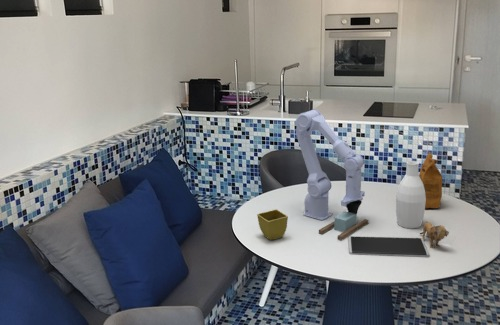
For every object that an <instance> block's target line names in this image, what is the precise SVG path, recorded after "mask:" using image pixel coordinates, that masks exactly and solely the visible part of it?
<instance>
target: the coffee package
mask: <svg viewBox="0 0 500 325" xmlns="http://www.w3.org/2000/svg"><path fill="white" fill-rule="evenodd" d="M436 164H438V160H437V159H434V158H433V154H432V153H430V152H428V153H427V155H426V158H425V159H424V162H423V163H422V165H421V167H420V171H419V173H418V175H419V177H420V179H421V181H422V182H423V185H424V189H425V196H426V203H425V209H439V208H441V202H442V196H443V175H442V174H441V172H440V170H439V169H438V167H437V165H436Z"/></svg>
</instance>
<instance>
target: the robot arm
mask: <svg viewBox="0 0 500 325" xmlns="http://www.w3.org/2000/svg"><path fill="white" fill-rule="evenodd" d="M294 123H295V124H296V128H295V130H296V131H295V136H296V139H297V141H298V144H299V145H298V146H299V148H300V152H301V154H302V157H303V160H304V164H305V166H306V170H307V172H308V173H307V174H308V177H307V179H306V182H307V192H308V193H307V194H306V195H305V199H304V213H303V215H304V216H306V217H309V218H312V219H316V220H319V221H324V220H326V219H327V218H329V217H331V216H333V213H332V212H329V191H331V189H332V182H331V180H330V179H329V177H328V176H327V173H326V172H324V171H323V170H322V167H321V164H320V161H319V159H318V154H317V152H316V149H315V146H314V142H313V140H312V135H311V134H312V133H313V131H318V132H319V133H320V134H321V135H322V136H323V137H324V138H325V139H326V140H327V141H328V142H329V143H330V144H331V145H332V151H333V152H334V153H335V155H336V156H337V157H338V158H339V159H340V160H341V161H342V163H343V168H344V170H345V171H346V173H345V195H344V197H343V198H342V200H340V206H342V207H346V209H347V212H350V213H354V214H356V216H358V215H357V214H358V211H359V209H360V206H361V204H362V203H363V200H364V197H365V195H366V194H365V191H364V190H362V187H361V186H362V167H363V166H364V164H365V160H364V157H363V156H362V155H361V154H359V153H356V151H354V150H353V149H352V148H351V146H350V145H349V142H348V141H345V140H343V139H340V138H339V136H337V135H336V133H335V132H334V131H333V129H332V128H331V126H330V125H329V124H328V123H327V122H326V119H325V116H324V115H323V114H322V113H321V111H320V110H319V109H311V110H308V111H304V112H301V113H299V114H298V115H297V117H296V119H295V122H294Z"/></svg>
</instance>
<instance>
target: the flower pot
mask: <svg viewBox="0 0 500 325" xmlns="http://www.w3.org/2000/svg"><path fill="white" fill-rule="evenodd" d="M256 215H257V222H258V225H259V229H260V231H261V232H262V235H263V236H264V237H266V238H267V239H268V240H270V241H273V240H277V239H281V238H282V237H283V236H284V235H285V233H286V231H287V227H288V218H289V216H288V215H287V214H285V213H283V212H282V211H280V210H278V209H272V210H268V211H264V212H260V213H256Z"/></svg>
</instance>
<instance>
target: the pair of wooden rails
mask: <svg viewBox="0 0 500 325" xmlns="http://www.w3.org/2000/svg"><path fill="white" fill-rule="evenodd" d="M368 224H369V219H366V218H364V219H363V220H360V221H359V222H357V223H356V225H354V226H353V227H351V228H350V229H348V230H346V231H345V232H341V233H340V234H338V235H337V240H338V241H342V240H344V239H346V238H348V237H350V236H351V235H352V234H355V233H356V232H357V231H359V230H360V229H362V228H363V227H364V226H367V225H368ZM332 229H334V221H332V222H330V223H328V224H326V225H325V226H323V227H321V228H319V229H318V234H319V235H324V234H325V233H327V232H329V231H330V230H332Z"/></svg>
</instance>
